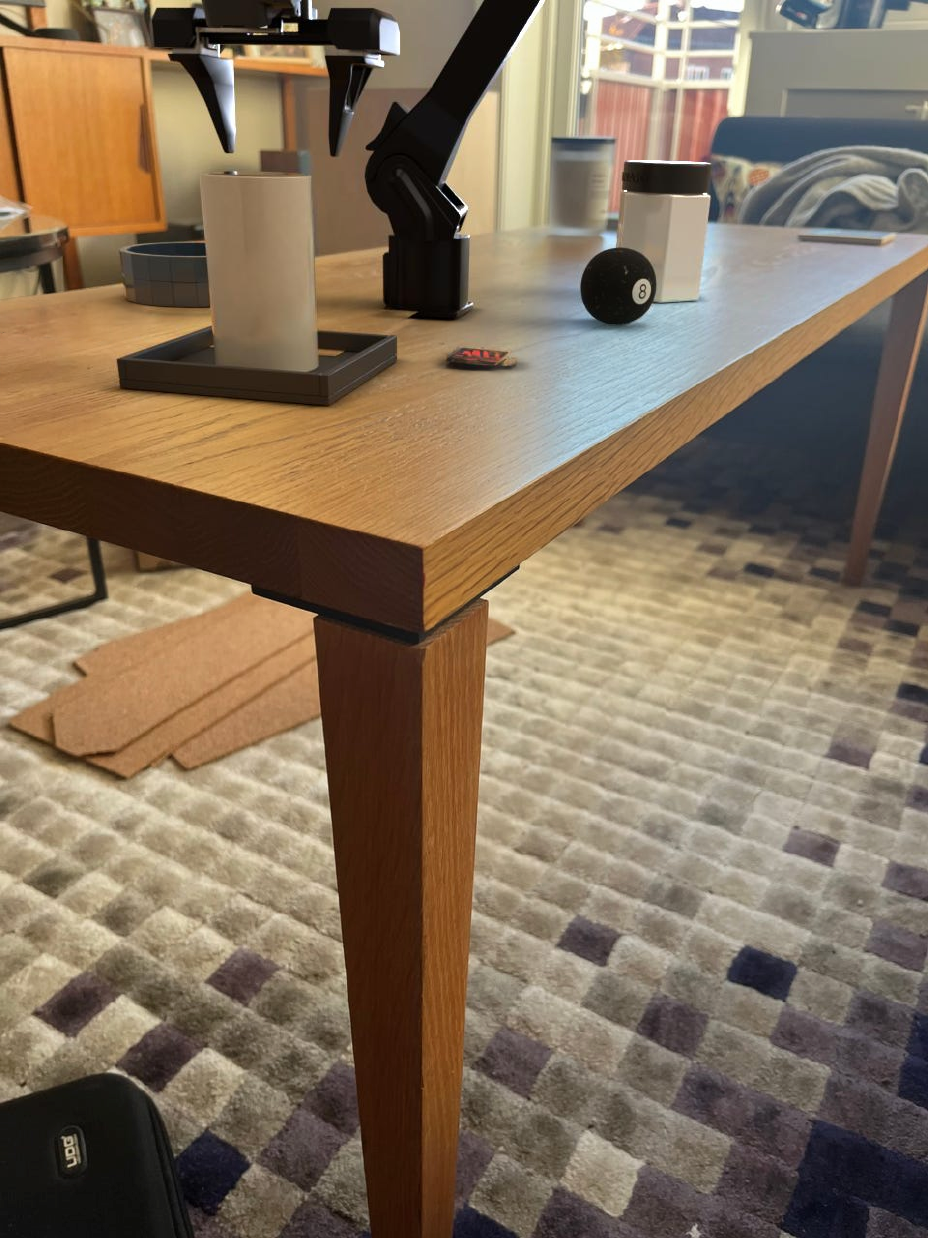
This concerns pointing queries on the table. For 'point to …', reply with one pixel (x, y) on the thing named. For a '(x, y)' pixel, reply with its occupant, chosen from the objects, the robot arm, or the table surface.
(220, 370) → the tray
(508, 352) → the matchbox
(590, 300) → the billiard ball
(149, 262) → the bowl
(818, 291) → the table surface
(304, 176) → the cup
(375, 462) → the table surface
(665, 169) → the jar
